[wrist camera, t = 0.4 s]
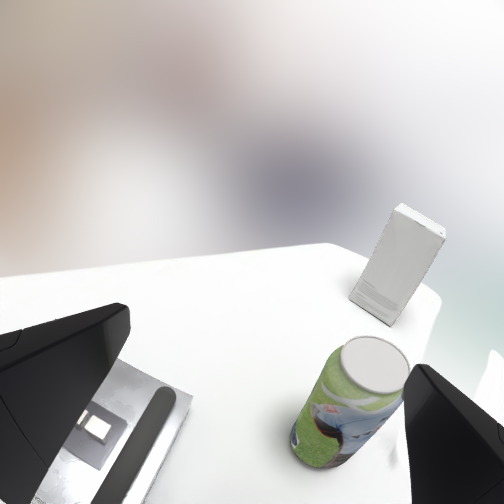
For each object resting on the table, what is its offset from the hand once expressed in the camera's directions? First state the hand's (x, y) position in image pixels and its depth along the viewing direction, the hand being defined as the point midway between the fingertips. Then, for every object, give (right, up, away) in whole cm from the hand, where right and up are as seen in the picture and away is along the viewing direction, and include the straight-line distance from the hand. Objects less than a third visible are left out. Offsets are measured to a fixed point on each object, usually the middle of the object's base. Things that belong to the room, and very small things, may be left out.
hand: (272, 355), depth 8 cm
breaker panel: (-14, -11, +8) cm, 19 cm away
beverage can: (+5, -14, +14) cm, 20 cm away
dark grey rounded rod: (-8, -11, +6) cm, 15 cm away
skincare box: (+18, -5, +35) cm, 39 cm away
